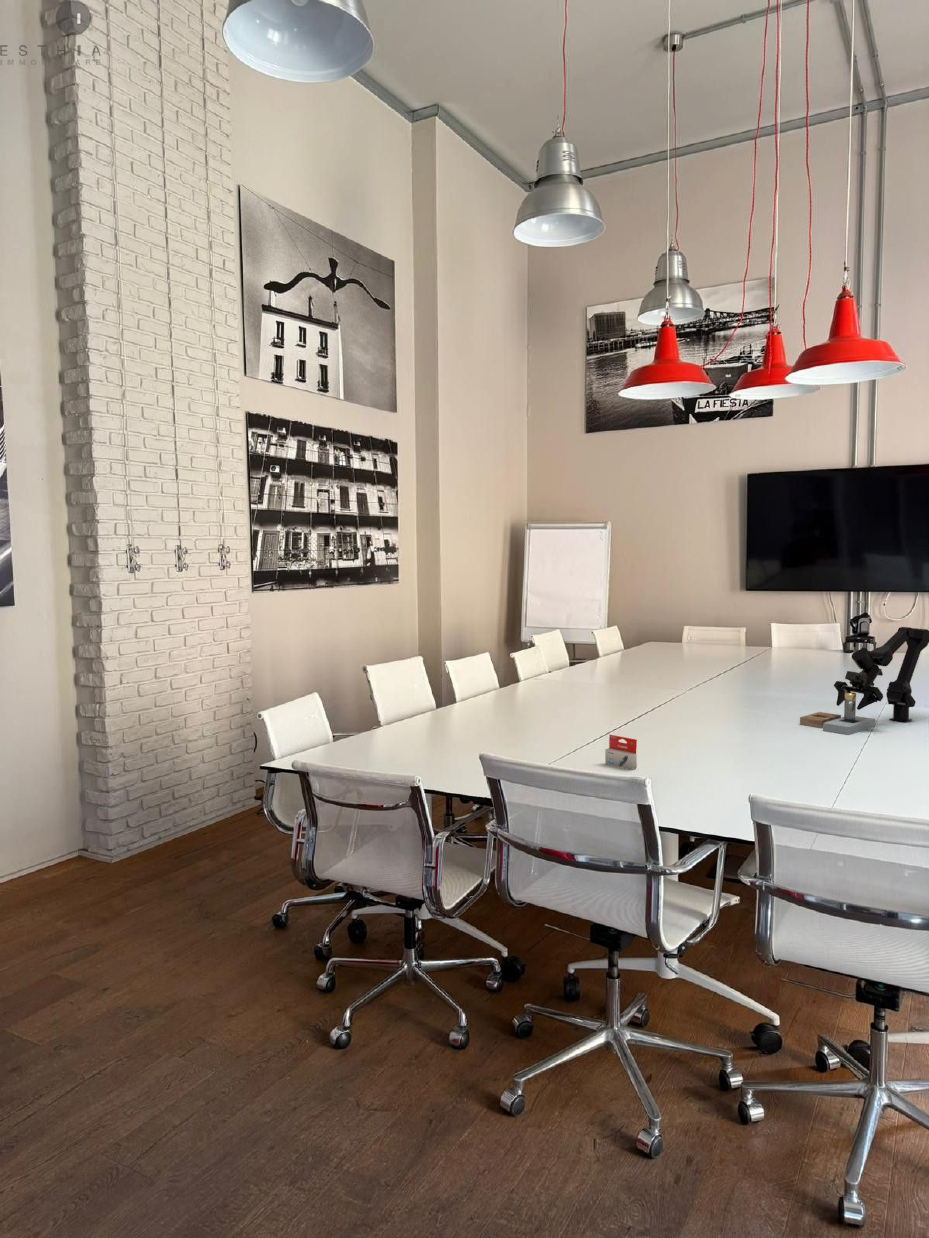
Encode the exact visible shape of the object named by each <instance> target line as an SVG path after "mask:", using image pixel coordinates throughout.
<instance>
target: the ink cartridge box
mask: <svg viewBox="0 0 929 1238" xmlns="http://www.w3.org/2000/svg"><path fill="white" fill-rule="evenodd" d="M608 737H609V738H608V741H609V742H608V748H605V750H604V752H605V753H604V757H605V758H604V760H605V761H604V762H605V763H606V764H605V765H608V764H609V765H608V766H612V765H614V766H613V767H616V768H617V767H618V768H621V767H625V768H624V769H626V768H628V769H627V770H630V769H631V771H634V770H637V769H636V768H637V767H638V763H637V761H638V760H637V758H638V757H637V755H638V754H637V749H638V748H637V747H638V746H637V744H638V742H637V741H638V739H636V738H629V737H625V736H619V735H615V734H609V735H608ZM620 740H624V741H625V742H626V743H625V742H621V741H620Z"/></svg>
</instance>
